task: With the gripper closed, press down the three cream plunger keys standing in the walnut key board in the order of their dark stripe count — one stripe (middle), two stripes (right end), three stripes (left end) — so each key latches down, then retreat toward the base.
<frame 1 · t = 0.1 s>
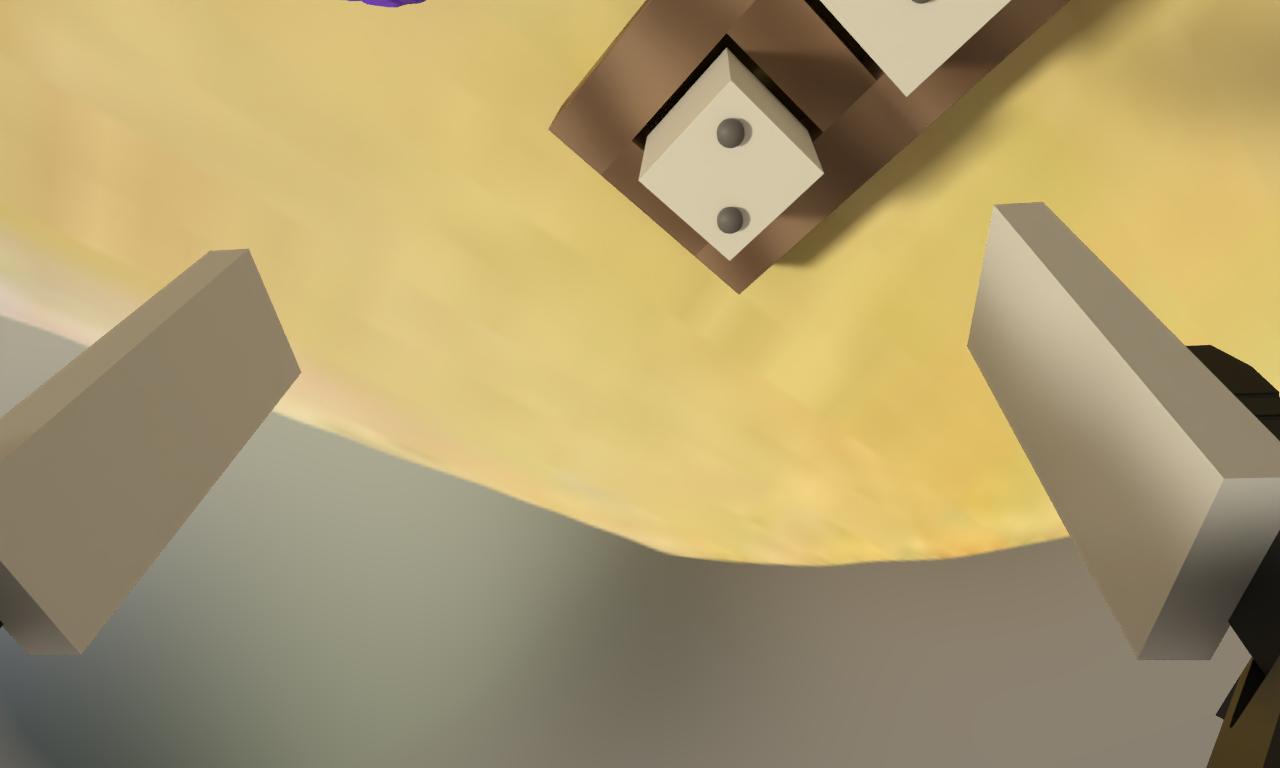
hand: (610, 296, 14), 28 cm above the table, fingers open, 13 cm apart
key two: (729, 155, 33), point 7 cm above the table, slide at 0.0 cm
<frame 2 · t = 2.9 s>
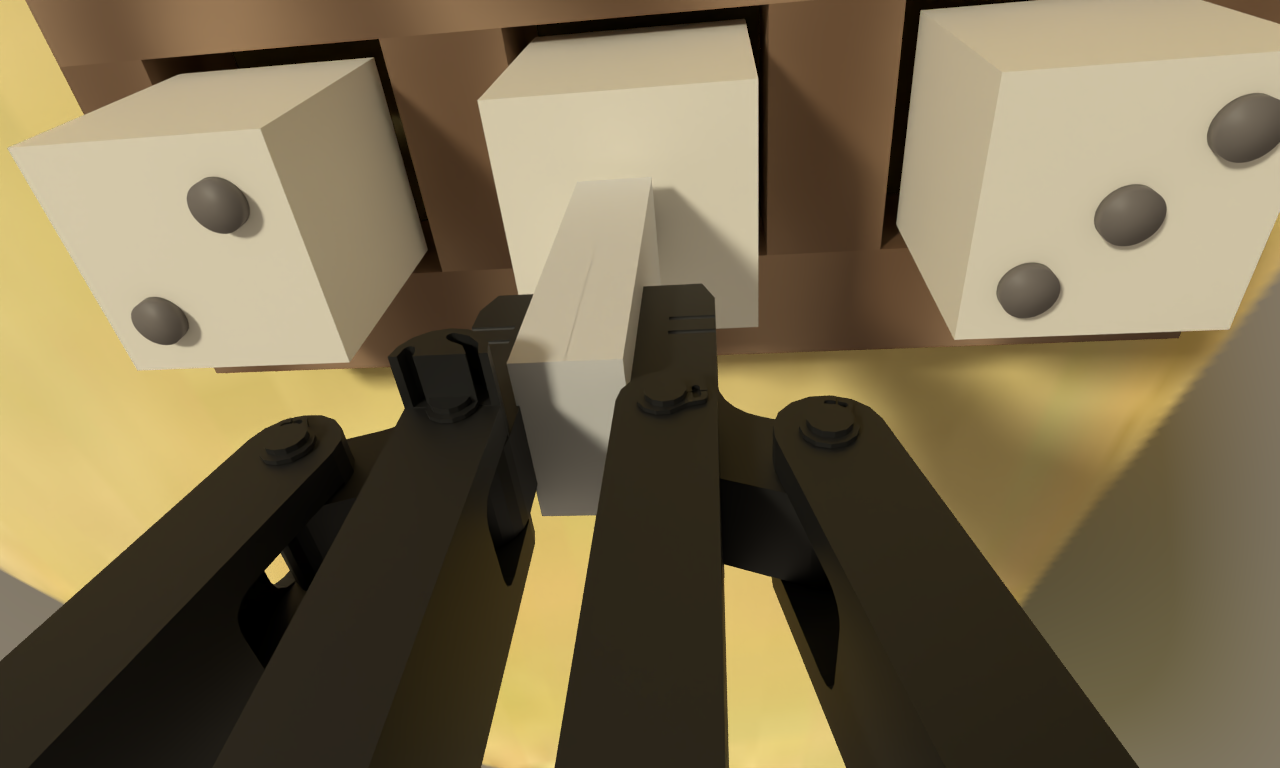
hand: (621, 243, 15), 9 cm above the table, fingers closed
keyboard base: (653, 107, 23), on the table
key three: (1065, 164, 16), point 7 cm above the table, slide at 0.0 cm
key one: (639, 177, 18), point 6 cm above the table, slide at -0.9 cm, touching gripper
key two: (257, 214, 18), point 7 cm above the table, slide at 0.0 cm
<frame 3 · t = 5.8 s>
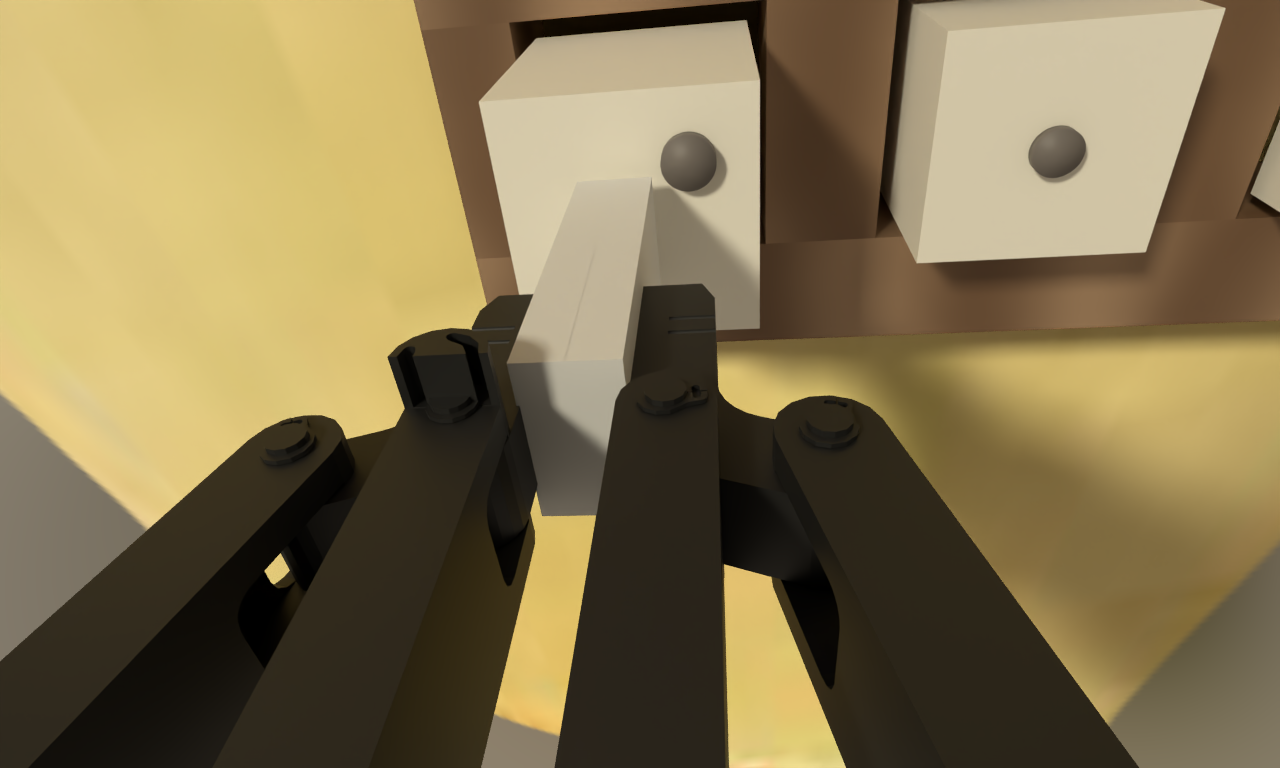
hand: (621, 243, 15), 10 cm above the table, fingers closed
keyboard base: (970, 77, 22), on the table
key one: (1012, 116, 19), point 4 cm above the table, slide at -2.8 cm
key two: (640, 179, 18), point 7 cm above the table, slide at 0.0 cm, touching gripper
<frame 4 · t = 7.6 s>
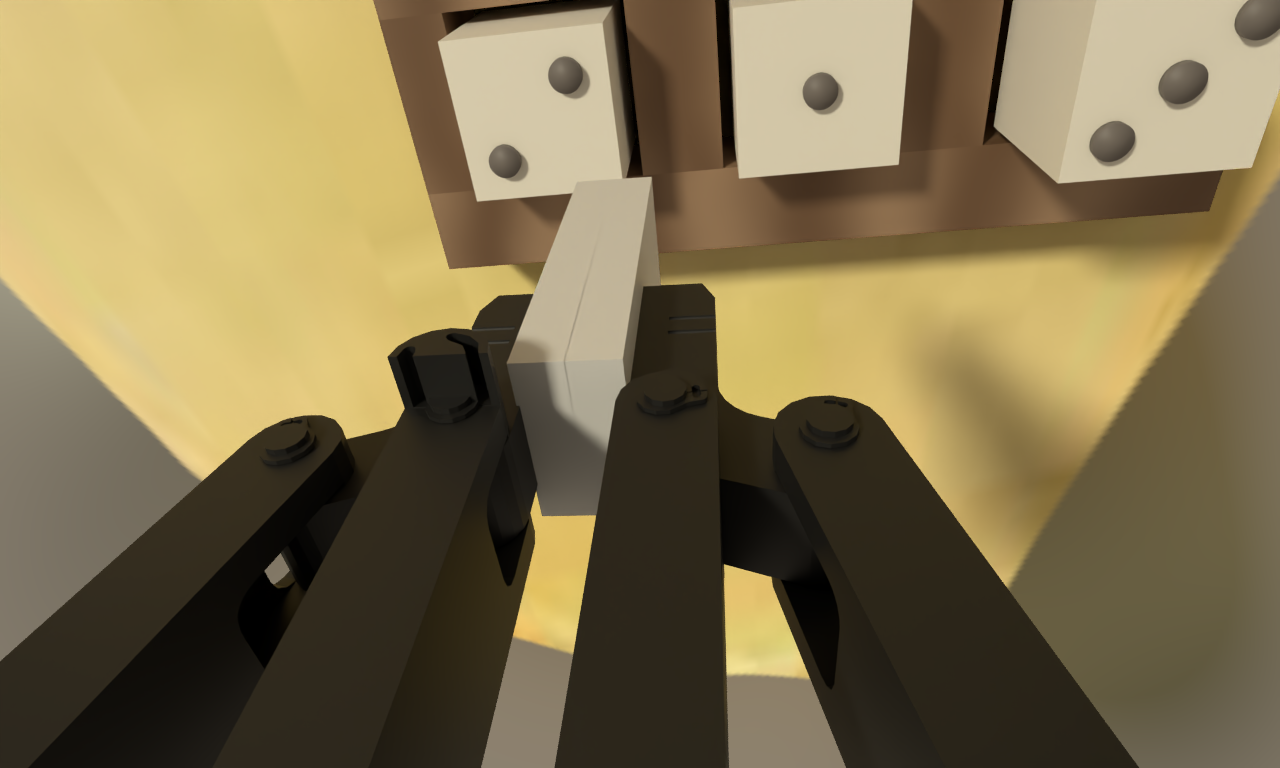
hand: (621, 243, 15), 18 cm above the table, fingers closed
keyboard base: (797, 48, 30), on the table
key three: (1130, 61, 23), point 7 cm above the table, slide at 0.0 cm
key one: (809, 72, 26), point 4 cm above the table, slide at -2.8 cm
key two: (549, 99, 28), point 4 cm above the table, slide at -2.8 cm
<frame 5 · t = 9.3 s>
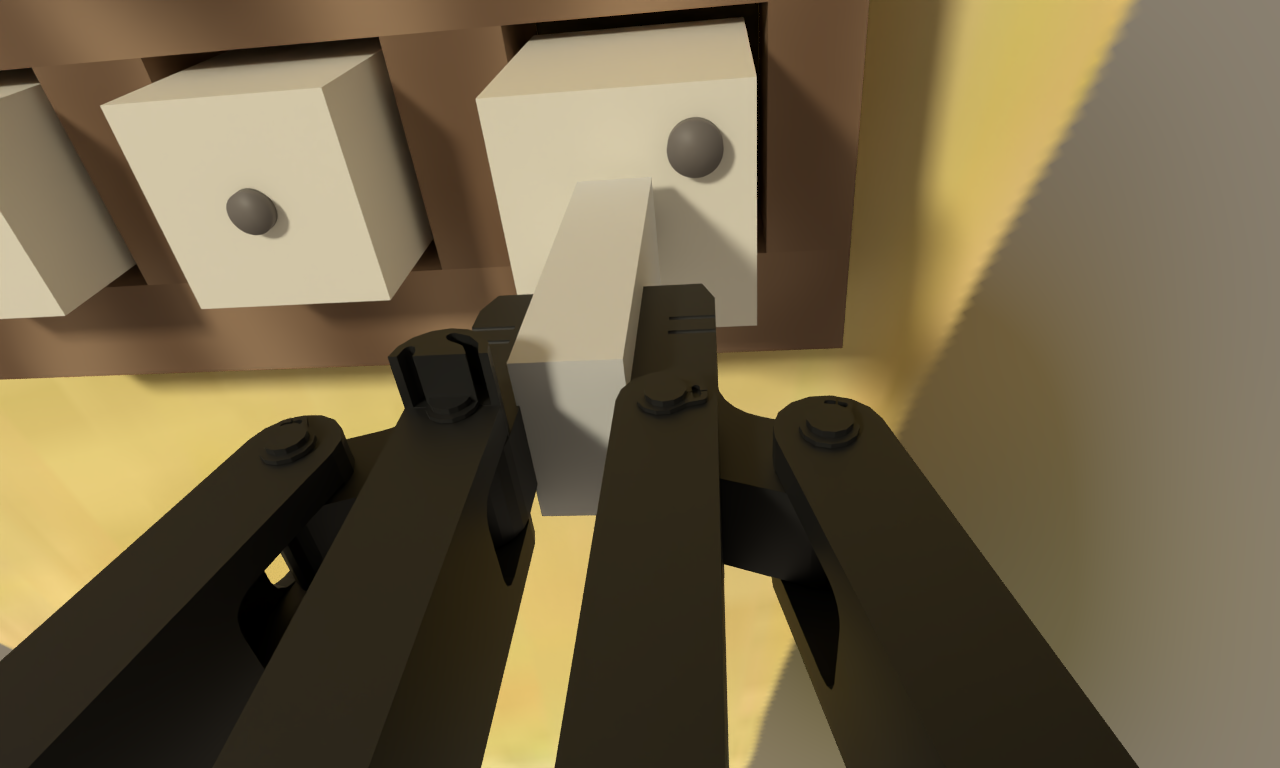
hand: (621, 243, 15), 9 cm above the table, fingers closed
keyboard base: (357, 127, 24), on the table
key three: (637, 176, 18), point 6 cm above the table, slide at -0.8 cm, touching gripper
key one: (306, 171, 21), point 4 cm above the table, slide at -2.8 cm
key two: (1, 192, 22), point 4 cm above the table, slide at -2.8 cm
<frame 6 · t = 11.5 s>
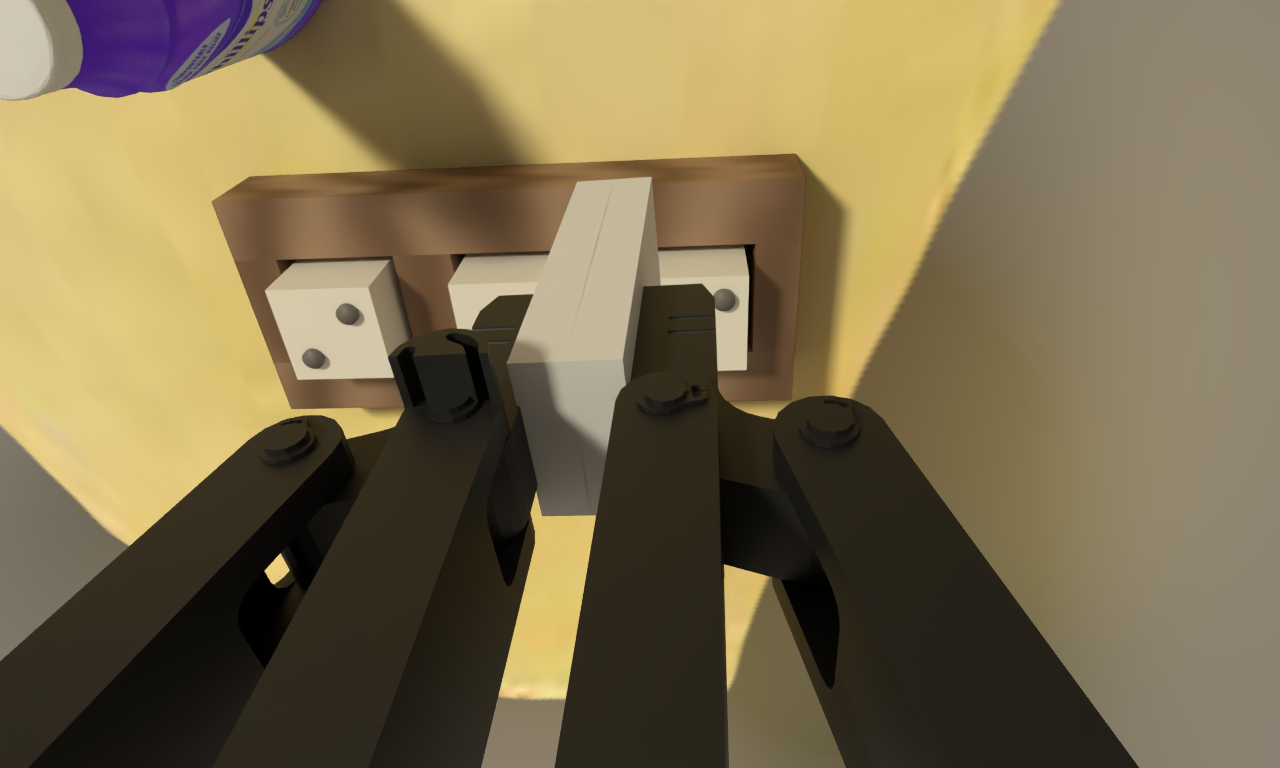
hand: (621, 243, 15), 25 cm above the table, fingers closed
keyboard base: (531, 275, 44), on the table
key three: (693, 301, 40), point 4 cm above the table, slide at -2.8 cm
key one: (519, 306, 41), point 4 cm above the table, slide at -2.8 cm
key two: (352, 311, 41), point 4 cm above the table, slide at -2.8 cm
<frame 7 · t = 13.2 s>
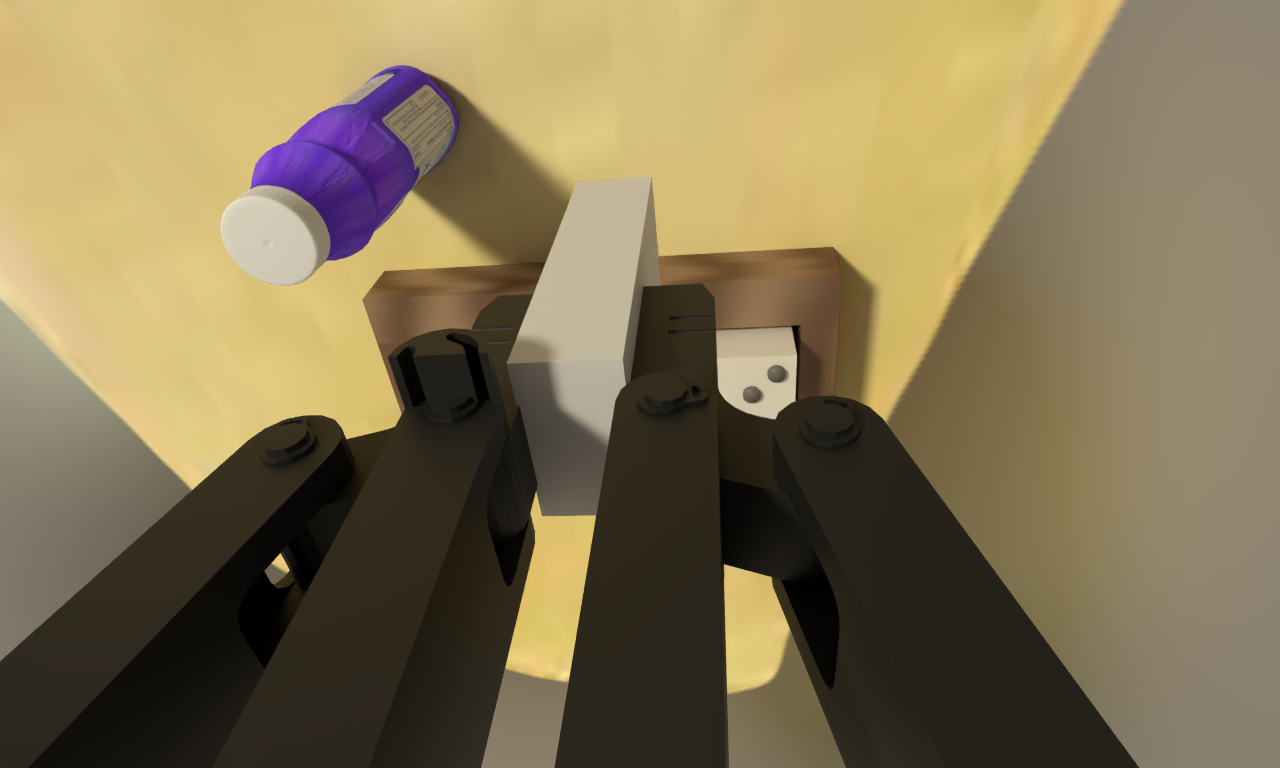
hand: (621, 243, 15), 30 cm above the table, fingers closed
keyboard base: (612, 342, 53), on the table
key three: (749, 368, 49), point 4 cm above the table, slide at -2.8 cm
bottle: (408, 120, 45), on the table
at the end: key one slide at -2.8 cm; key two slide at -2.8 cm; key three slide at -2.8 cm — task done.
